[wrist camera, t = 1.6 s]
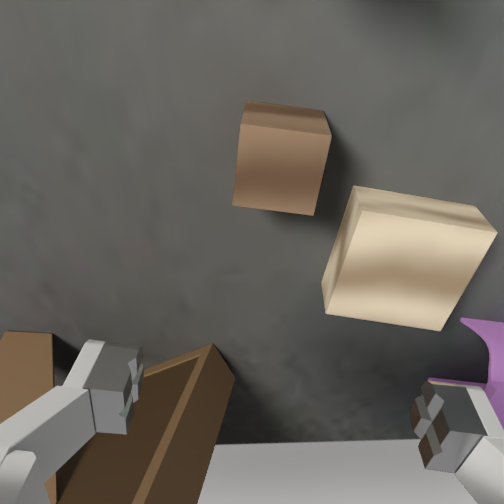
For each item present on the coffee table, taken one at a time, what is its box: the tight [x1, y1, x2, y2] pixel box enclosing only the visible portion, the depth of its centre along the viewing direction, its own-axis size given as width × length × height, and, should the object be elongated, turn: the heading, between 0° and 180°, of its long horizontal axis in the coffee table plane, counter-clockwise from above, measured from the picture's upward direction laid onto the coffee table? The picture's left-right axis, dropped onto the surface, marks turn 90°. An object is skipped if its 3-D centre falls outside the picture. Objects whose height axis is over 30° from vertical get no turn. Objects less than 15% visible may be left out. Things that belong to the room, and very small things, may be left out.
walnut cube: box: [232, 100, 332, 216], centre depth 26 cm, size 5×5×5 cm
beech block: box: [321, 185, 497, 331], centre depth 31 cm, size 9×9×4 cm
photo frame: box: [0, 331, 235, 504], centre depth 31 cm, size 15×22×25 cm
